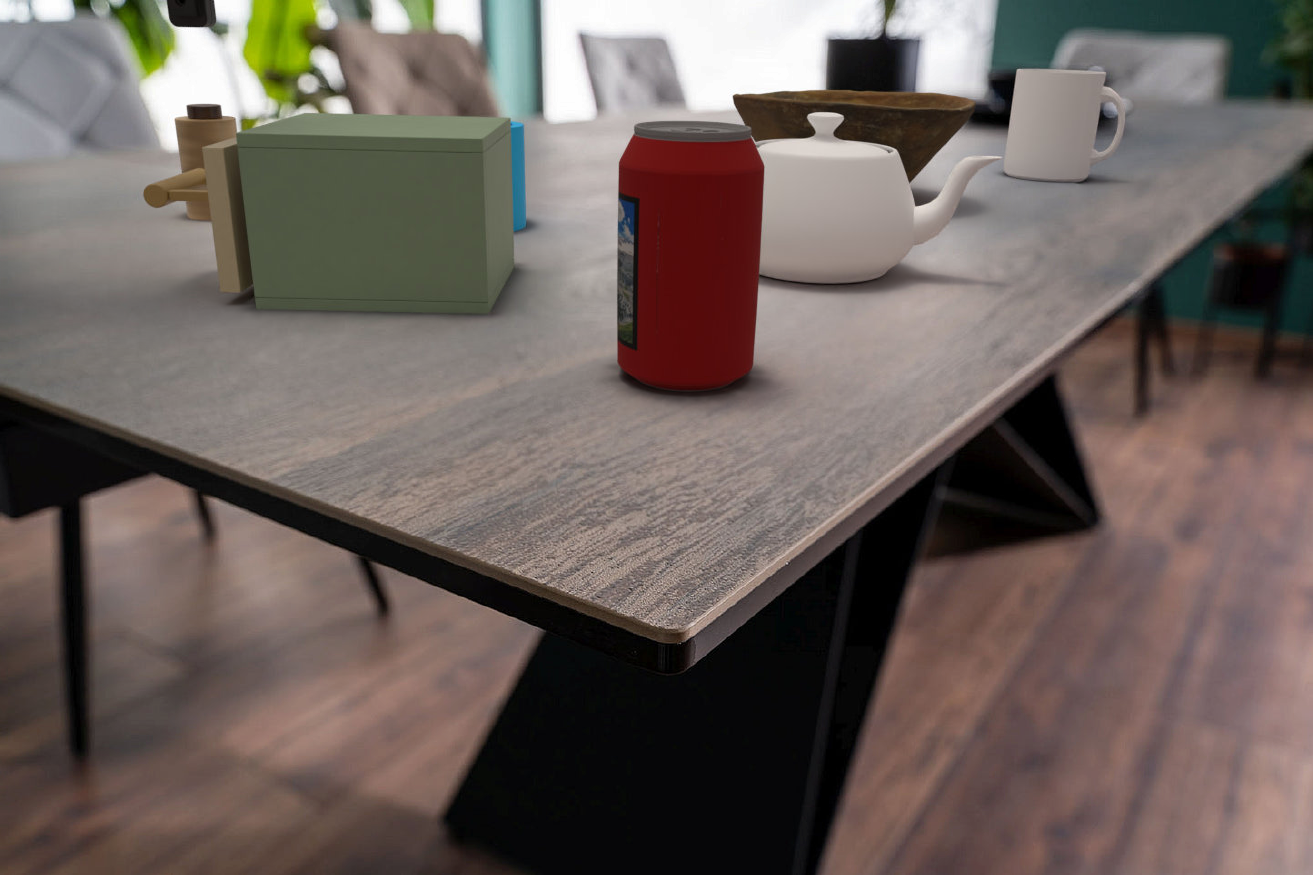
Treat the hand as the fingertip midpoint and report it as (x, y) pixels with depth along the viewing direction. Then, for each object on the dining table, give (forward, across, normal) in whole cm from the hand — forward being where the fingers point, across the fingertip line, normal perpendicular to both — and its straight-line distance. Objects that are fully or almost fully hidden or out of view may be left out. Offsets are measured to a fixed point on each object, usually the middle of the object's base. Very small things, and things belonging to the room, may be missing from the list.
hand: (193, 26), depth 63 cm
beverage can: (+16, +17, +29) cm, 37 cm away
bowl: (+16, -39, +46) cm, 62 cm away
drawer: (+14, 0, +6) cm, 16 cm away
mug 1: (+16, -23, +12) cm, 30 cm away
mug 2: (+16, -59, +74) cm, 96 cm away
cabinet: (+15, 0, +11) cm, 19 cm away
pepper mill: (+15, -23, -9) cm, 29 cm away
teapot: (+16, -7, +39) cm, 43 cm away
